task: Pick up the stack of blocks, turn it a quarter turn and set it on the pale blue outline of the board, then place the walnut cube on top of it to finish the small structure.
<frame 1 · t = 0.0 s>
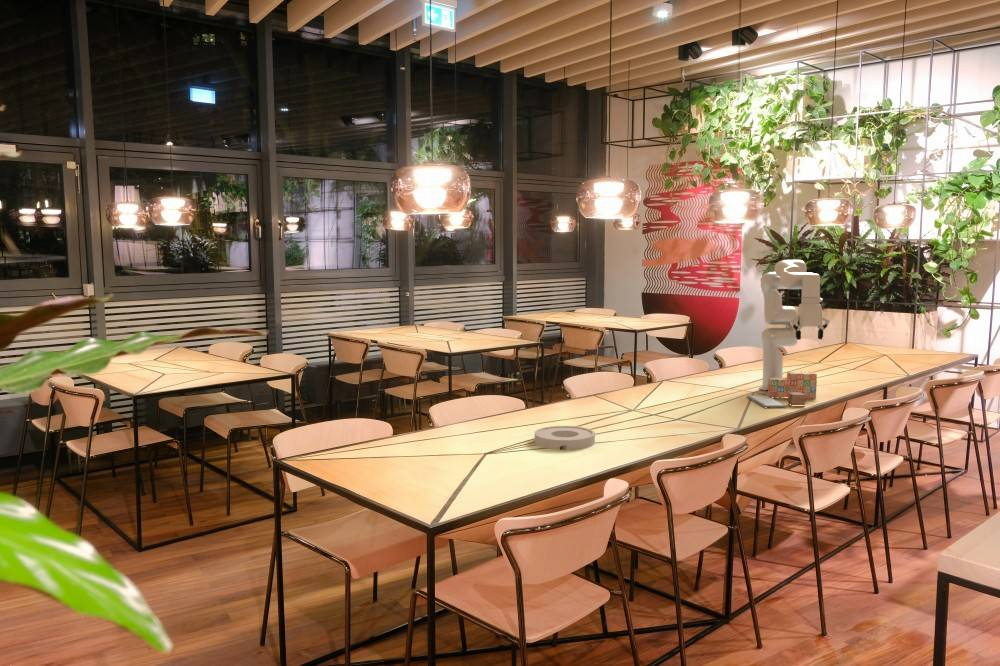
hand: (809, 339, 348), 31 cm above the table, tool pointing down, fingers open, 9 cm apart
walnut cube: (796, 405, 356), on the table
blueprint board: (766, 402, 363), on the table
stack of blocks: (791, 397, 375), on the table
ashtray: (564, 443, 296), on the table
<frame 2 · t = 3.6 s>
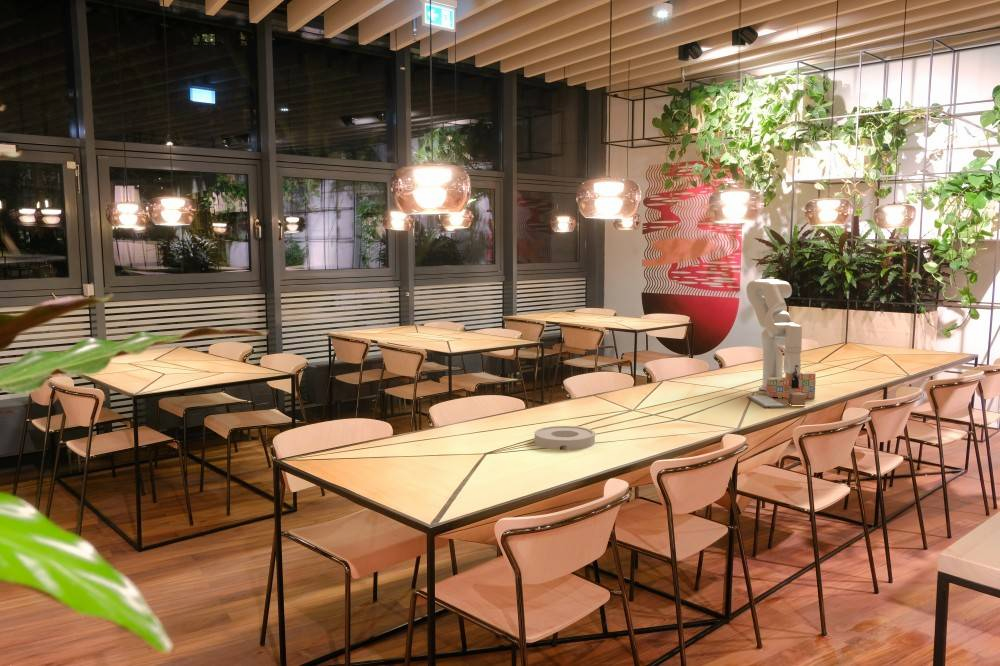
hand: (792, 386, 375), 5 cm above the table, tool pointing down, fingers closed on stack of blocks, 6 cm apart
stack of blocks: (790, 397, 375), on the table, touching gripper
everything else where it was.
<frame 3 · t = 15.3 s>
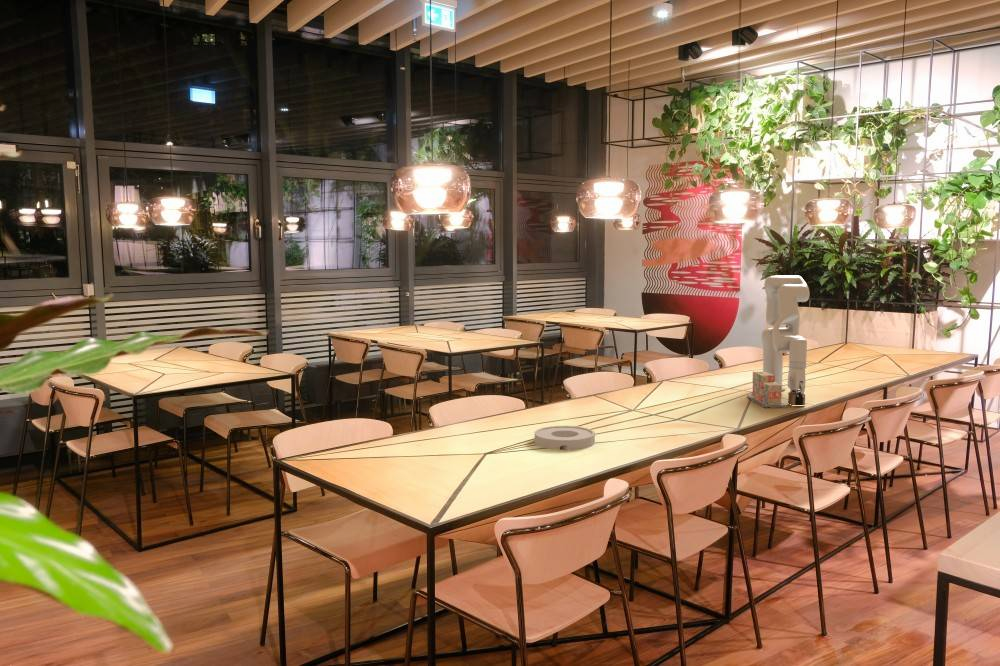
hand: (796, 403, 356), 1 cm above the table, tool pointing down, fingers closed on walnut cube, 5 cm apart
walnut cube: (796, 405, 356), on the table, touching gripper
stack of blocks: (766, 401, 362), point 1 cm above the table, touching blueprint board
everything else where it was.
when the fingers open (15 cm above the table, at t = 21.3 s): walnut cube drops 1 cm, resting on stack of blocks.
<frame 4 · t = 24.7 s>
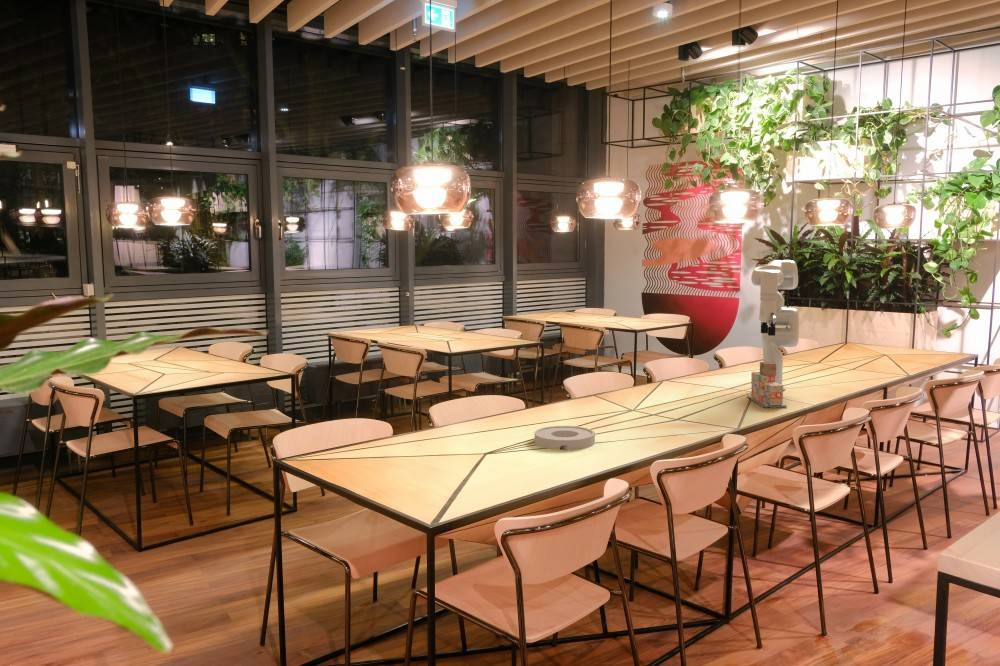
hand: (767, 334, 360), 32 cm above the table, tool pointing down, fingers open, 9 cm apart
walnut cube: (767, 374, 361), point 13 cm above the table, touching stack of blocks
stack of blocks: (766, 401, 362), point 1 cm above the table, touching blueprint board, walnut cube
everything else where it was.
at the end: stack of blocks 1.6 cm from the target spot, point 0.9 cm above the table; stack of blocks tilted 0°; walnut cube 1.1 cm off-centre on the stack of blocks, point 12.5 cm above the stack of blocks's base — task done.
